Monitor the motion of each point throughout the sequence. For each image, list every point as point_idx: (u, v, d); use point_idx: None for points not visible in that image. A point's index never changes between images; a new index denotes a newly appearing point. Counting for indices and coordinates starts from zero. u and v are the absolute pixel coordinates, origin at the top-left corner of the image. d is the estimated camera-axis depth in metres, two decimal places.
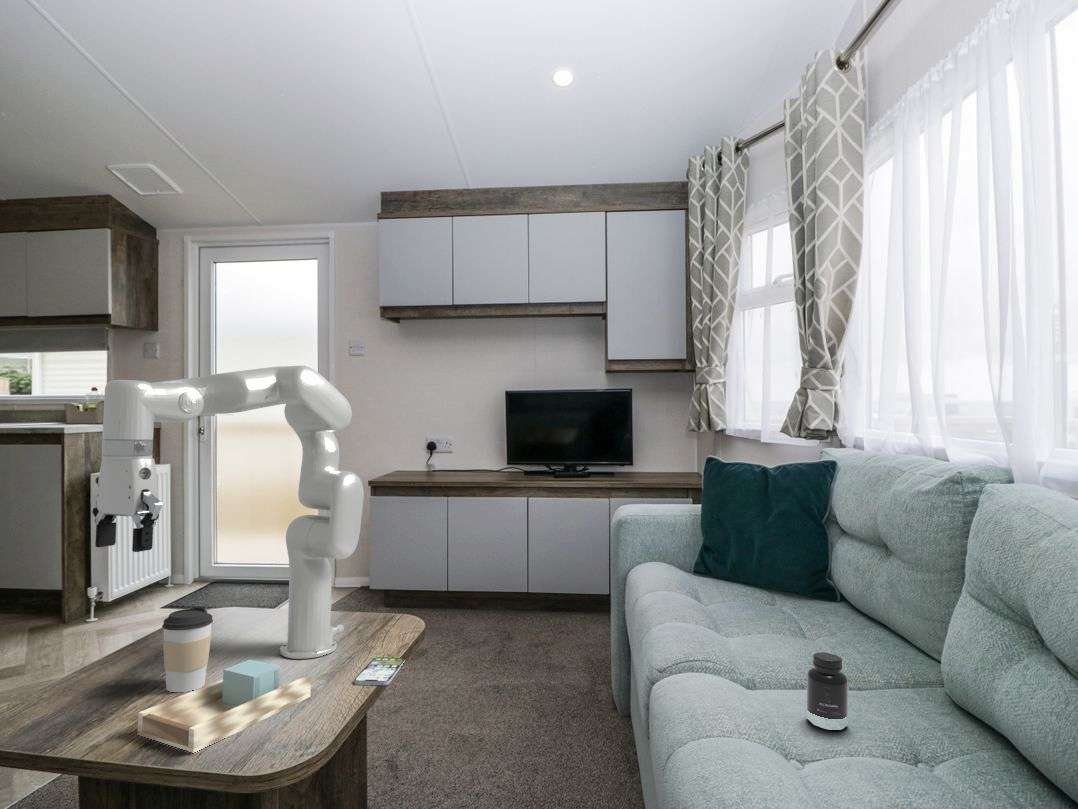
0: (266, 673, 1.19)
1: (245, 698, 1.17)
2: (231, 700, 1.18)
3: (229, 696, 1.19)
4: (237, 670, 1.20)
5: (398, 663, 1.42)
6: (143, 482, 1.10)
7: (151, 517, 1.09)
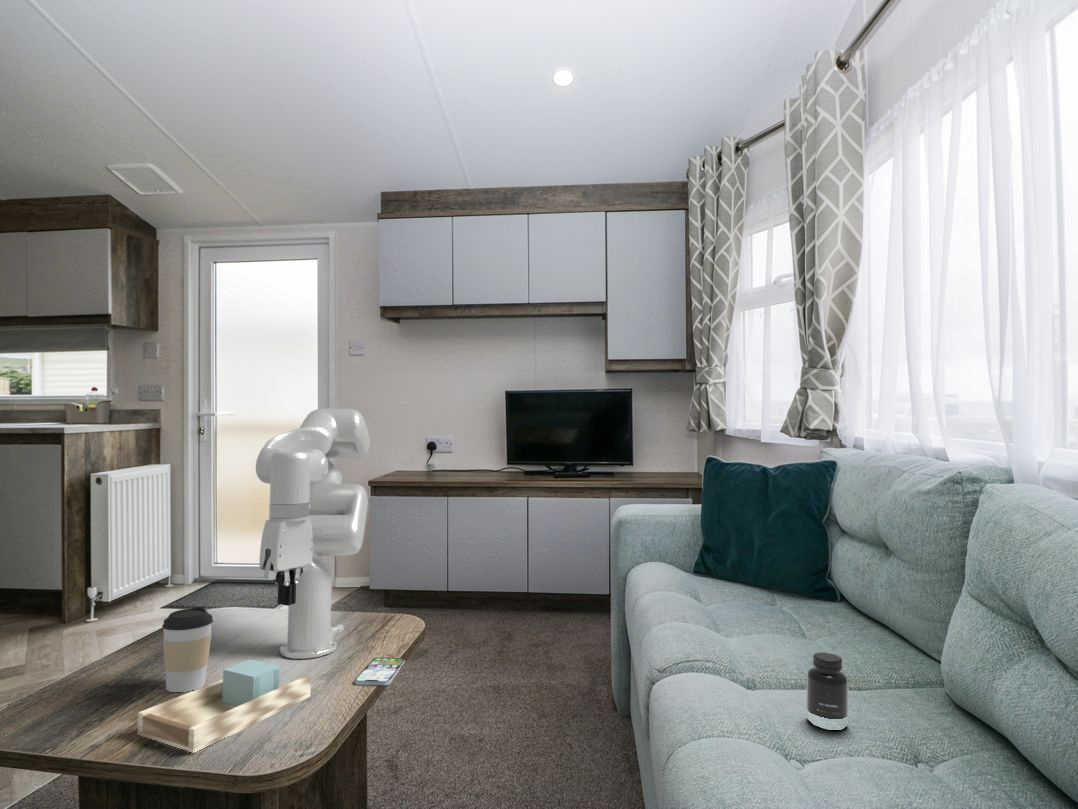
0: (266, 673, 1.19)
1: (245, 698, 1.17)
2: (231, 700, 1.18)
3: (229, 696, 1.19)
4: (237, 670, 1.20)
5: (398, 663, 1.42)
6: None
7: None
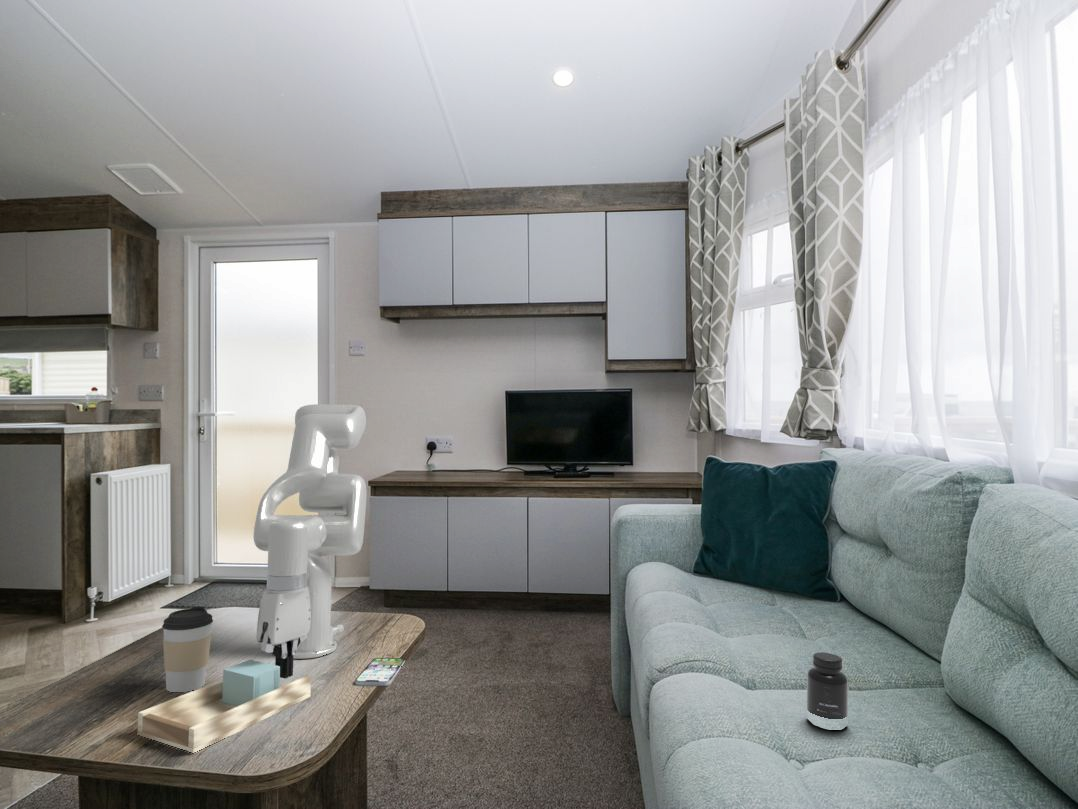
0: (266, 673, 1.19)
1: (245, 698, 1.17)
2: (231, 700, 1.18)
3: (229, 696, 1.19)
4: (237, 670, 1.20)
5: (398, 663, 1.42)
6: None
7: (297, 644, 1.30)
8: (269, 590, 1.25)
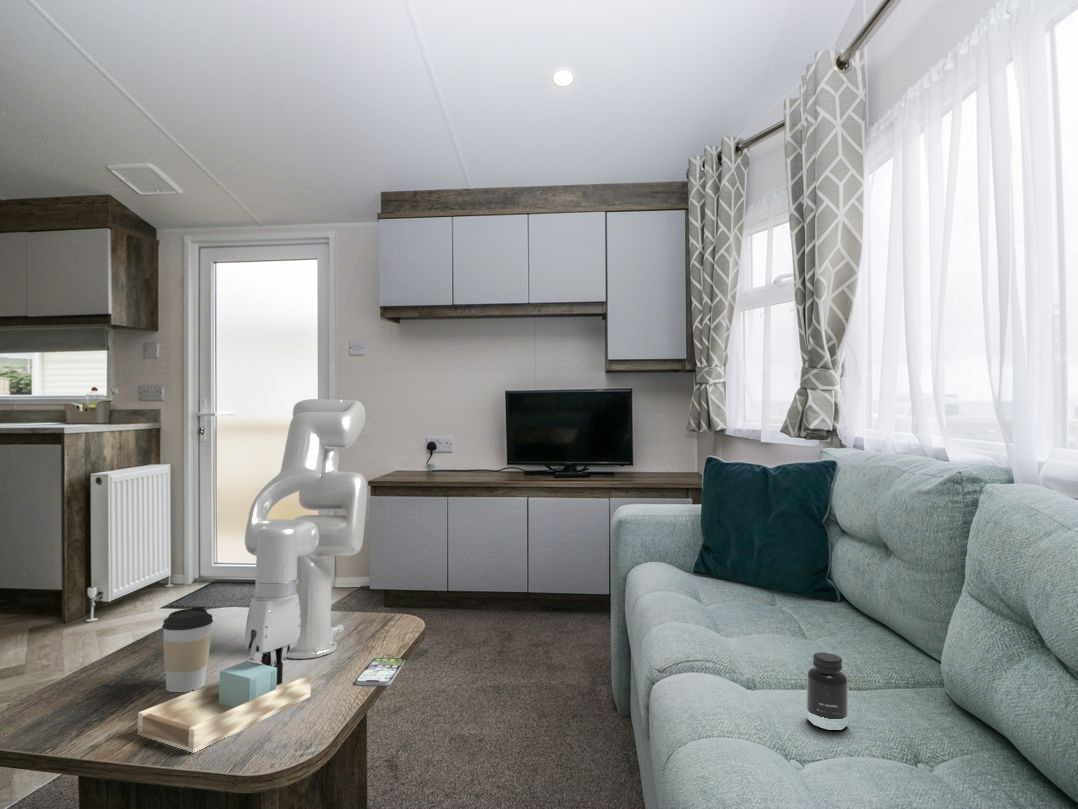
0: (263, 675, 1.18)
1: (242, 699, 1.16)
2: (228, 702, 1.18)
3: (226, 698, 1.18)
4: (233, 671, 1.19)
5: (398, 663, 1.42)
6: None
7: None
8: (257, 597, 1.23)
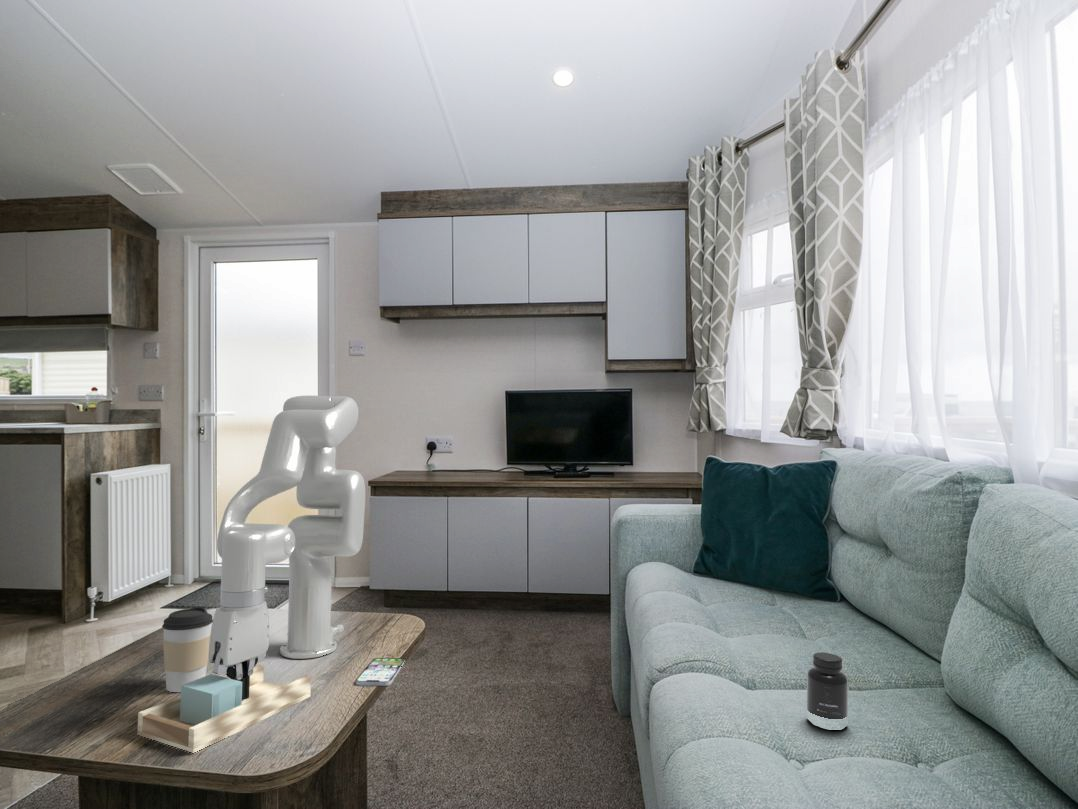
0: (227, 690, 1.11)
1: (203, 716, 1.09)
2: (189, 718, 1.11)
3: (187, 714, 1.11)
4: (195, 685, 1.12)
5: (398, 663, 1.42)
6: None
7: (255, 663, 1.21)
8: (222, 607, 1.16)
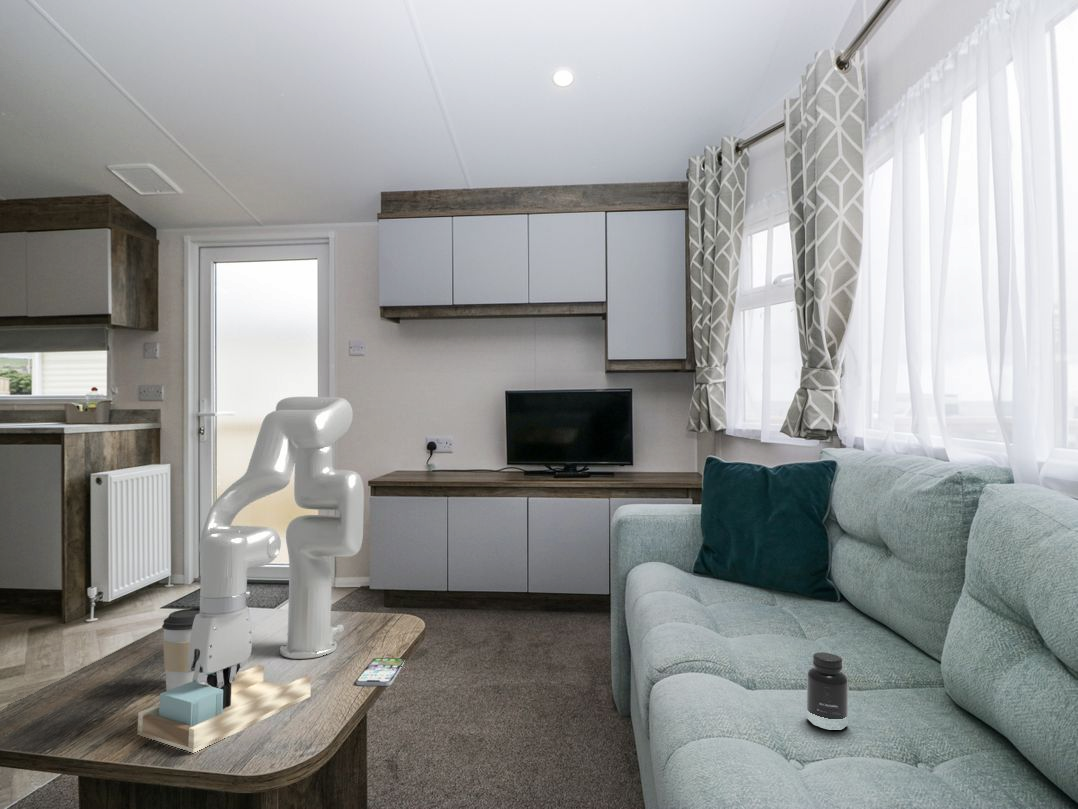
0: (207, 698, 1.08)
1: None
2: None
3: None
4: (174, 694, 1.08)
5: (398, 663, 1.42)
6: None
7: None
8: (202, 613, 1.12)
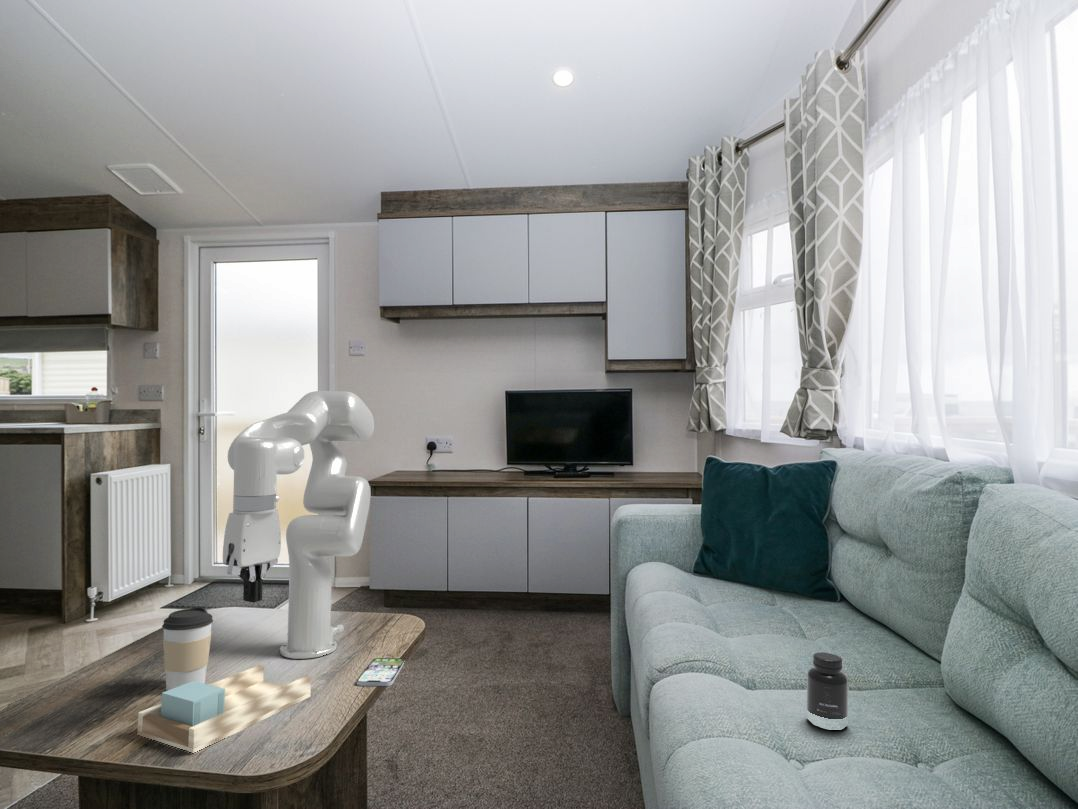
0: (209, 697, 1.08)
1: None
2: None
3: None
4: (176, 693, 1.09)
5: (399, 664, 1.41)
6: None
7: None
8: (235, 511, 1.19)
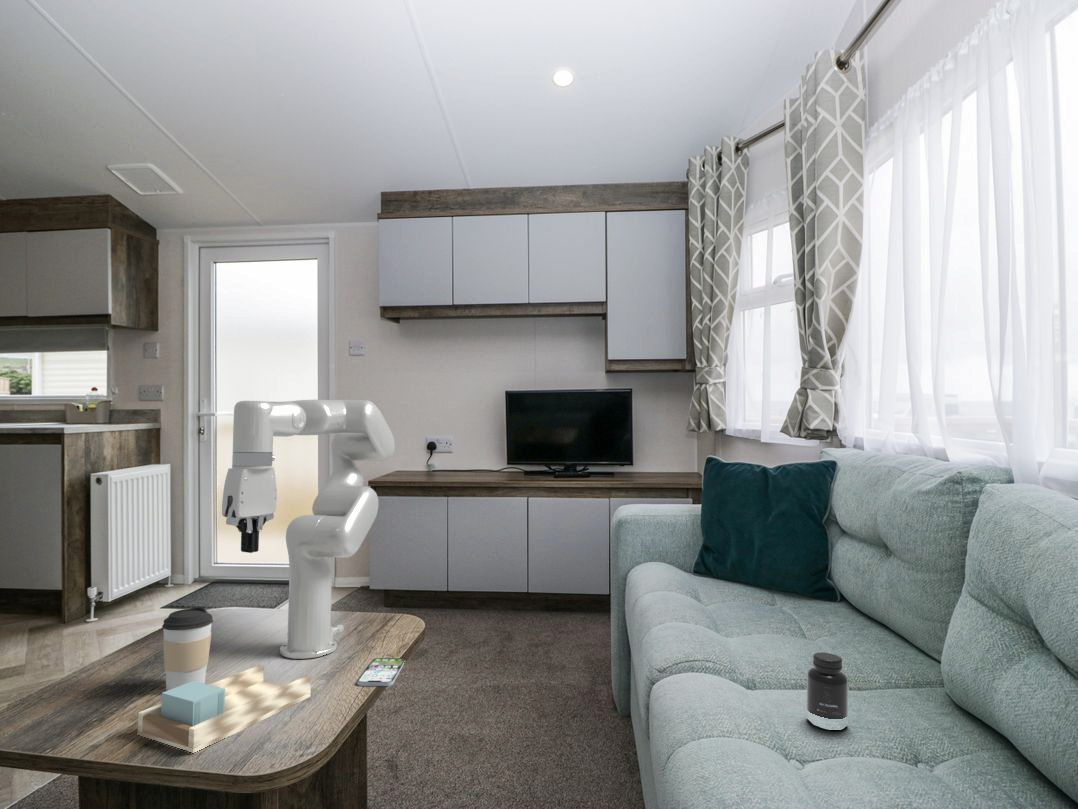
0: (209, 697, 1.08)
1: None
2: None
3: None
4: (176, 693, 1.09)
5: (399, 663, 1.41)
6: None
7: None
8: (234, 466, 1.28)
